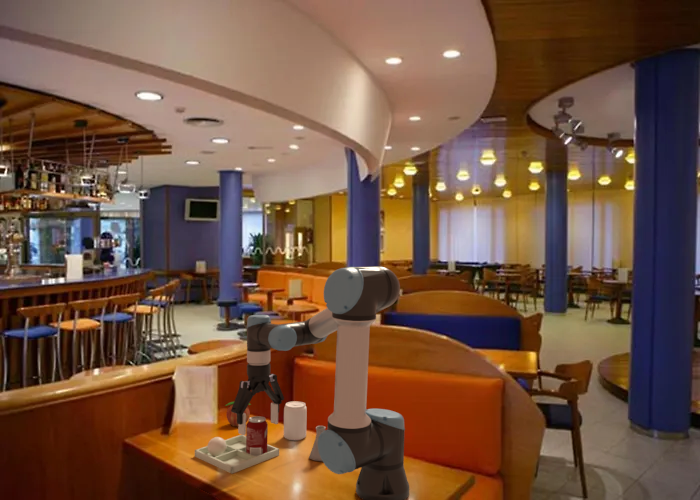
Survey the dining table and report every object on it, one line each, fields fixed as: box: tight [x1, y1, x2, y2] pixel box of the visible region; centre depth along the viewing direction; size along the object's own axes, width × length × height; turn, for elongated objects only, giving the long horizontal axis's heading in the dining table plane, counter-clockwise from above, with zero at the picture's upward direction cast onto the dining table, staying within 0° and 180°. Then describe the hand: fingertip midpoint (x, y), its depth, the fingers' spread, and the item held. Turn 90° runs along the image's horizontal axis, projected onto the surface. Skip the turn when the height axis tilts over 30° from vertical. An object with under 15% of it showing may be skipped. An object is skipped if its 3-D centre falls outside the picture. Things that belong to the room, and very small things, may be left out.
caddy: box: [194, 434, 280, 475], centre depth 179 cm, size 19×19×3 cm
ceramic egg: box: [206, 436, 226, 457], centre depth 179 cm, size 6×6×6 cm
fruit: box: [224, 401, 252, 427], centre depth 211 cm, size 9×10×10 cm
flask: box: [308, 425, 327, 462], centre depth 181 cm, size 7×7×10 cm
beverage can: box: [283, 400, 308, 441], centre depth 199 cm, size 8×8×12 cm
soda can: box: [245, 415, 269, 456], centre depth 179 cm, size 7×7×12 cm
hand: (258, 428), depth 179 cm, fingers open, 13 cm apart
